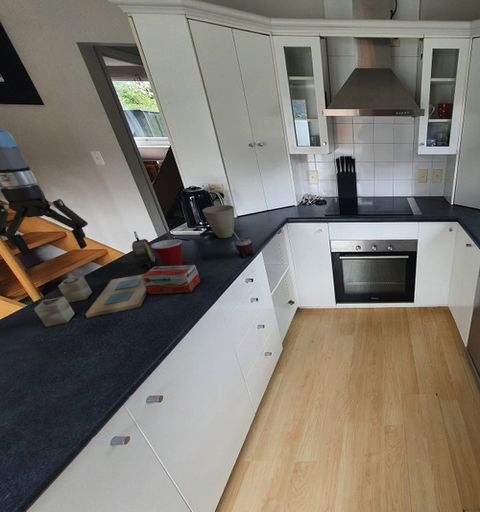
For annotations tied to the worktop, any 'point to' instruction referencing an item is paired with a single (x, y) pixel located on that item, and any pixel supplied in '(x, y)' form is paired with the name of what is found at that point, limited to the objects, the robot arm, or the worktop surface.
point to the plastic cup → (169, 252)
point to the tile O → (75, 289)
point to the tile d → (54, 311)
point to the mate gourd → (243, 246)
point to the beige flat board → (119, 296)
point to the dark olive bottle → (143, 251)
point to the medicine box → (171, 279)
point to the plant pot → (220, 219)
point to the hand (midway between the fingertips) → (56, 250)
